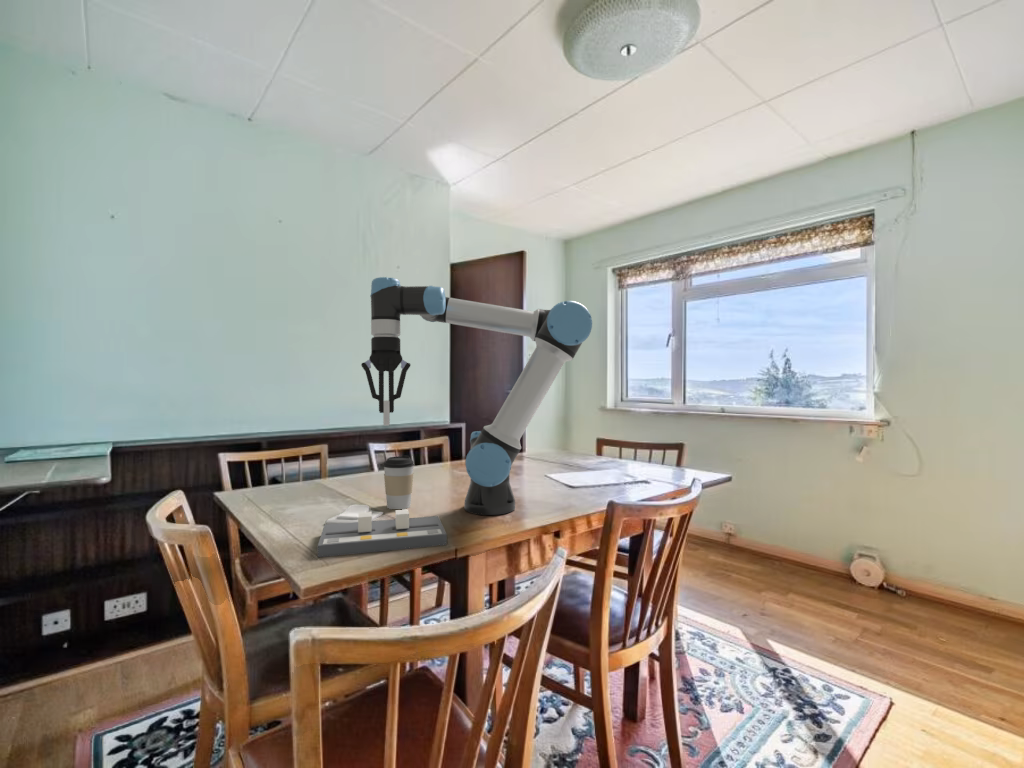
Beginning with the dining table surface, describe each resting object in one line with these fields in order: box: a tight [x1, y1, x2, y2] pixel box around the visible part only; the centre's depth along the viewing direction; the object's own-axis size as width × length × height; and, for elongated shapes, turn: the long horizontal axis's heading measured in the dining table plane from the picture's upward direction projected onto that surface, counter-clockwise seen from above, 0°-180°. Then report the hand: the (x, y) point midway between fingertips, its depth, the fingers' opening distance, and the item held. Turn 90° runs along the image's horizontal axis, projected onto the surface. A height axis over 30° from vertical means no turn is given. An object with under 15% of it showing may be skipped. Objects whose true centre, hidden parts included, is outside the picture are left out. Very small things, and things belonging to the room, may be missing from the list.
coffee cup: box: [382, 454, 415, 510], centre depth 142 cm, size 9×9×15 cm
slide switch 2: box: [394, 508, 410, 529], centre depth 115 cm, size 3×4×4 cm
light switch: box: [325, 504, 384, 525], centre depth 130 cm, size 11×4×13 cm
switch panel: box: [317, 515, 448, 558], centre depth 114 cm, size 28×15×3 cm, turn 106°
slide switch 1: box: [358, 512, 372, 532], centre depth 112 cm, size 3×4×4 cm
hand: (386, 424), depth 127 cm, fingers closed
